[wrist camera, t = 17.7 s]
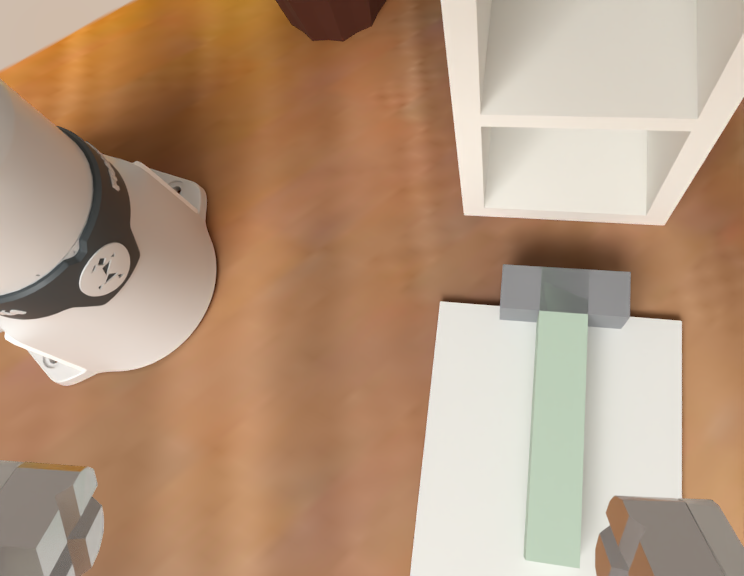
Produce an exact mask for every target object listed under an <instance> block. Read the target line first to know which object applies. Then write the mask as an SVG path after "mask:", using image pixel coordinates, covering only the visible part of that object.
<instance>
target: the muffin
mask: <svg viewBox="0 0 744 576" xmlns="http://www.w3.org/2000/svg"><path fill="white" fill-rule="evenodd" d="M276 2H277V3H278V5H279V6H280V8H281V9H282V11H283V12H284V14H285V15H286V17H287V18H288V20H289V21H290V23H291V24H292V25H293V26H295V27H296V28H298V29H300V30H301V31H303V32H304V33H305V34H306V35H307V36H308V37H309V38H310V39H311V40H312V41H317V40H335V41H345V40H346V39H348V38H349V37H351V36H352V35H354V34H355V33H357V32H359V31H361V30H364V29H366V28H368V27H370V26H372V24H373V22H374V20H375V18H376V15H377V13H378V12H379V10H380V9H381V7H382V6H383V5H384V3H385V2H386V0H276Z"/></svg>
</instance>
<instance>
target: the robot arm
mask: <svg viewBox="0 0 744 576" xmlns="http://www.w3.org/2000/svg"><path fill="white" fill-rule="evenodd" d="M179 190H181V192H180V194H179V193H177V191H179ZM206 209H207V196H206V192H205V190H204V189H203V188H202V187H201V186H199V185H198V184H197V183H195V182H193V181H190V180H186V179H183V178H180V177H177V176H173V175H170V174H167V173H163V172H160V171H157V170H154V169H150V168H148V167H147V166H145V165H144V164H142V163H141V162H139V161H135V162H133V163H131V162H128V161H125V160H122V159H119V158H115V157H111V156H108V155H104V154H102V153H101V152H99V150H97V149H96V148H95V147H94V146H92V145H91V144H90V143H89V142H87V141H86V142H85V141H84V140H83V139H81V138H80V137H78V136H77V135H76V134H74V133H73V132H71V131H69V130H67V129H64V128H62V127H59V126H55V125H54V124H53V123H52V122H50V121H49V120H48V119H47V118H46V117H45V116H43V115H42V114H41V113H40V112H39V111H38V110H36V109H35V108H34V107H33V106H32V105H30V104H29V103H28V102H27V101H26V100H25V99H23V98H22V97H21V96H20V95H19V94H18V93H16V92H15V91H14V90H13V89H12V88H10V87H9V86H8V85H7V84H6V83H5V82H3V81H2V80H1V79H0V332H3V331H4V332H5V339H6V340H8V341H9V342H11V343H13V344H15V345H17V346H19V347H22V348H24V349H27V350H28V352H29V353H30V354H31V355H32V357H33V358H34V359H35V360H36V362H37V363H38V364H39V365H40V367H41V368H42V369H43V370H44V372H45V373H46V374H47V375H48V377H49V378H50V379H51V380H52V381H54V382H56V383H58V384H60V385H64V386H69V385H73V384H76V383H78V382H81V381H83V380H85V379H87V378H89V377H91V376H93V375H95V374H97V373H101V372H111V371H127V370H133V369H137V368H141V367H144V366H147V365H150V364H152V363H154V362H156V361H158V360H160V359H162V358H164V357H165V356H167V355H168V354H170V353H171V352H173V351H174V350H175V349H176V348H178V347H179V346H180V345H181V344H182V343H183V342H184V341H185V340H186V339H187V338H188V337H189V336H190V335H191V334H192V332H193V331H194V330H195V329H196V327H197V326H198V324H199V323H200V321H201V320H202V318H203V316H204V314H205V312H206V310H207V308H208V306H209V303H210V301H211V298H212V295H213V291H214V287H215V281H216V257H215V251H214V247H213V244H212V241H211V238H210V236H209V233H208V230H207V227H206V222H205V220H206ZM55 361H57V363H55ZM97 485H98V484H97V480H96V476H95V473H94V469H92V468H90V467H86V466H74V465H61V464H49V463H37V462H16V461H4V460H0V576H81V575H82V574H84V573H85V572H86V571H88V570H89V569H90V568H92V565H93V563H94V561H95V559H96V556H97V554H98V552H99V549H100V545H101V540H102V536H103V532H104V515H103V510H102V505H101V504H99V503H98V502H97V501H96V500H95V499H94V498H93V497H92V495H93V493H94V491H95V489H96V487H97ZM606 515H607V518H608V521H609V523H610V526H608V527H607V528H605V529H604V530H603V531H601V532H600V533H599V536H598V540H597V544H596V548H595V569H596V575H597V576H744V547H743V545H742V544H741V542H740V540H739V539H738V537H737V535H736V534H735V532H734V530H733V529H732V527H731V525H730V524H729V522H728V520H727V519H726V517H725V515H724V514H723V512H722V510H721V508H720V507H719V505H718V504H716V503H715V502H714V501H713V500H705V499H683V498H679V499H676V498H660V497H638V496H616V495H615V496H614V497H613V498H612V499H611V500H610V501H609V504H608V507H607V510H606Z"/></svg>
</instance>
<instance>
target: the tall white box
mask: <svg viewBox="0 0 744 576" xmlns="http://www.w3.org/2000/svg"><path fill="white" fill-rule="evenodd" d="M441 7H442V17H443V26H444V35H445V44H446V53H447V62H448V72H449V81H450V90H451V99H452V108H453V118H454V127H455V136H456V145H457V154H458V164H459V173H460V182H461V191H462V200H463V210H464V215H473V216H492V217H512V218H531V219H550V220H569V221H588V222H607V223H627V224H646V225H665V223H666V222H667V220H668V219H669V217H670V215H671V214H672V212H673V211H674V209H675V207H676V206H677V204H678V202H679V201H680V199H681V198H682V196H683V194H684V193H685V191H686V190H687V188H688V186H689V185H690V183H691V181H692V180H693V178H694V177H695V175H696V173H697V172H698V170H699V169H700V167H701V165H702V164H703V162H704V160H705V159H706V157H707V156H708V154H709V152H710V151H711V149H712V148H713V146H714V144H715V143H716V141H717V139H718V138H719V136H720V135H721V133H722V131H723V130H724V128H725V127H726V125H727V123H728V122H729V120H730V118H731V117H732V115H733V114H734V112H735V110H736V109H737V107H738V106H739V104H740V102H741V101H742V99H743V97H744V0H441Z"/></svg>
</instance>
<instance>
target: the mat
mask: <svg viewBox="0 0 744 576" xmlns="http://www.w3.org/2000/svg"><path fill="white" fill-rule="evenodd" d="M536 324H537V323H536V322H523V321H510V320H500V306H491V305H479V304H467V303H454V302H442V301H440V308H439V317H438V326H437V335H436V344H435V353H434V362H433V371H432V381H431V390H430V399H429V408H428V417H427V426H426V435H425V444H424V453H423V462H422V471H421V481H420V490H419V499H418V508H417V517H416V526H415V535H414V544H413V553H412V562H411V572H410V576H597V575H596V569H595V548H596V544H597V540H598V536H599V533H600V532H601V531H603V530H604V529H605V528H607V527H608V526H610V523H609V521H608V518H607V515H606V510H607V507H608V504H609V501H610V500H611V499H612V498H613V497H614V496H615V495H616V496H638V497H660V498H676V499H679V498H682V321H678V320H665V319H653V318H640V317H630V318H629V319H628V321H627V322H626V323H625V325H624V326H623V327H622V329H614V328H601V327H588V334H587V364H586V394H585V424H584V454H583V484H582V514H581V545H580V568H573V567H566V566H560V565H553V564H547V563H540V562H533V561H527V560H525V558H524V556H523V554H524V536H525V518H526V501H527V483H528V465H529V448H530V430H531V412H532V395H533V377H534V359H535V342H536Z"/></svg>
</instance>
